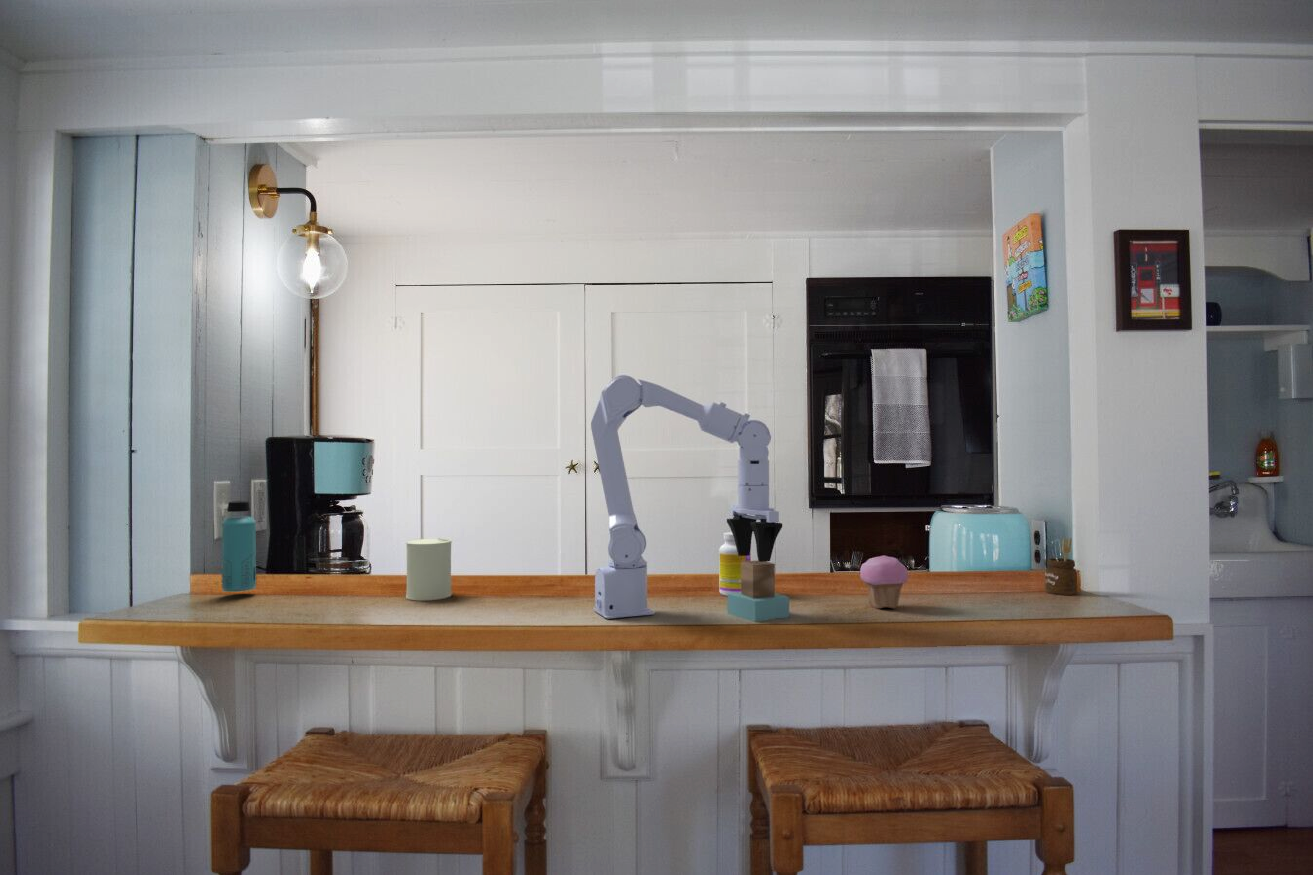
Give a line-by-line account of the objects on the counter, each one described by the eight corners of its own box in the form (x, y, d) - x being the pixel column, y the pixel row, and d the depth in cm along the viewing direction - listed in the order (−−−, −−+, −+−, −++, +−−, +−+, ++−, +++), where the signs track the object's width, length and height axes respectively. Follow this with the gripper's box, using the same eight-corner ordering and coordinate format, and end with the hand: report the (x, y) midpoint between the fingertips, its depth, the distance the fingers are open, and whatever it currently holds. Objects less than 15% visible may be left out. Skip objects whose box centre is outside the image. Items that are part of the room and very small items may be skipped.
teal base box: (755, 624, 130) (755, 601, 130) (727, 615, 136) (727, 593, 137) (789, 618, 134) (789, 596, 134) (760, 610, 141) (760, 589, 141)
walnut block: (753, 598, 132) (752, 565, 132) (741, 593, 136) (741, 561, 137) (774, 596, 134) (774, 563, 134) (762, 592, 138) (762, 560, 138)
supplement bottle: (749, 597, 151) (749, 535, 151) (717, 596, 152) (717, 534, 152) (751, 591, 158) (751, 531, 158) (721, 590, 159) (720, 531, 159)
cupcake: (902, 603, 145) (901, 552, 145) (913, 613, 136) (913, 559, 137) (856, 602, 146) (855, 552, 146) (864, 612, 137) (864, 558, 137)
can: (455, 598, 151) (455, 540, 152) (409, 602, 147) (409, 542, 148) (447, 590, 160) (447, 535, 160) (403, 594, 156) (403, 537, 156)
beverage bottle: (259, 596, 154) (259, 500, 154) (222, 600, 150) (223, 502, 150) (254, 591, 159) (254, 499, 159) (218, 595, 155) (219, 500, 155)
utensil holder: (1069, 590, 158) (1068, 534, 158) (1083, 596, 152) (1082, 538, 152) (1040, 590, 158) (1039, 534, 159) (1053, 595, 152) (1053, 537, 152)
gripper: (793, 486, 131) (793, 562, 131) (753, 482, 144) (753, 552, 144) (758, 487, 128) (759, 564, 128) (721, 483, 142) (721, 553, 141)
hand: (753, 558), depth 136 cm, fingers open, 7 cm apart
